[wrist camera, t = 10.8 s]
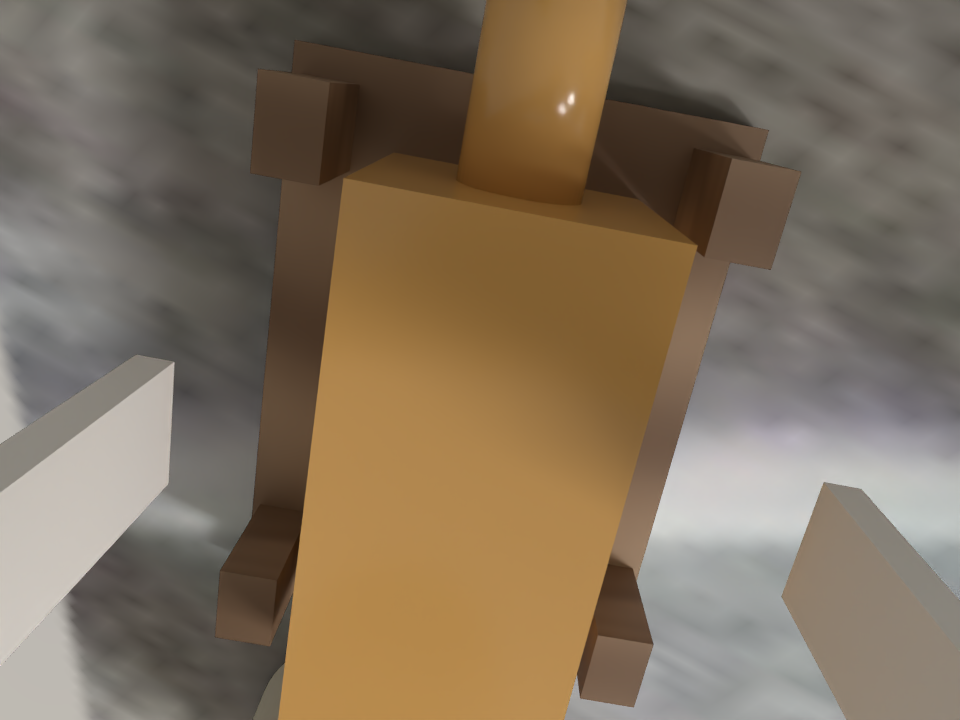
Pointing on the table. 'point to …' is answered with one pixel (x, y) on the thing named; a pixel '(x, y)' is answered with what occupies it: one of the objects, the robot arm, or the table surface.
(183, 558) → the table surface
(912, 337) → the table surface
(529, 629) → the amber bottle
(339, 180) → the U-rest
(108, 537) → the robot arm
